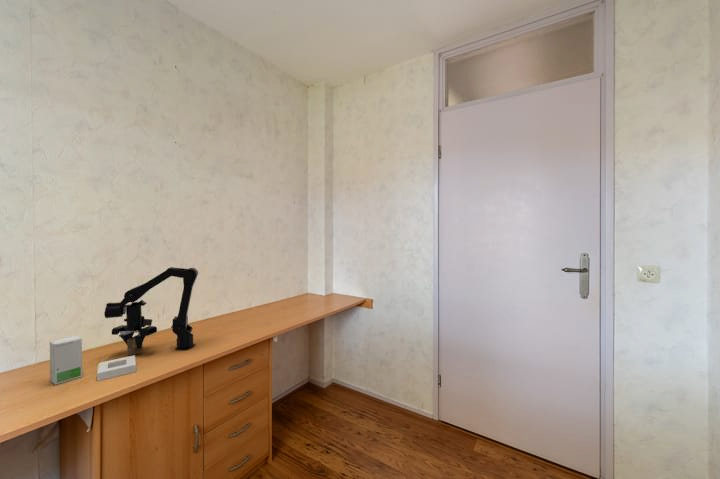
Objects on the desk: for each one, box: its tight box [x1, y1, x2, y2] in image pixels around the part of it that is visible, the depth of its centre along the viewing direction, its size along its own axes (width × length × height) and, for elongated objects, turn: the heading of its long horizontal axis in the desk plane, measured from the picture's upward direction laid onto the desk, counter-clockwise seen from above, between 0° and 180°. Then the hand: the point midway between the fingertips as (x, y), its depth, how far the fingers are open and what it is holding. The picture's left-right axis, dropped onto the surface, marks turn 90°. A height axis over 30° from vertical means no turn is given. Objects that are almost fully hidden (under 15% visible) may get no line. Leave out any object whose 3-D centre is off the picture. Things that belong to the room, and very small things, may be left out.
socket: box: [96, 355, 137, 382], centre depth 124 cm, size 12×12×3 cm
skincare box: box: [49, 335, 83, 386], centre depth 118 cm, size 8×7×16 cm
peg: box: [126, 336, 143, 356], centre depth 141 cm, size 4×4×7 cm
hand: (135, 348), depth 141 cm, fingers closed on peg, 4 cm apart
